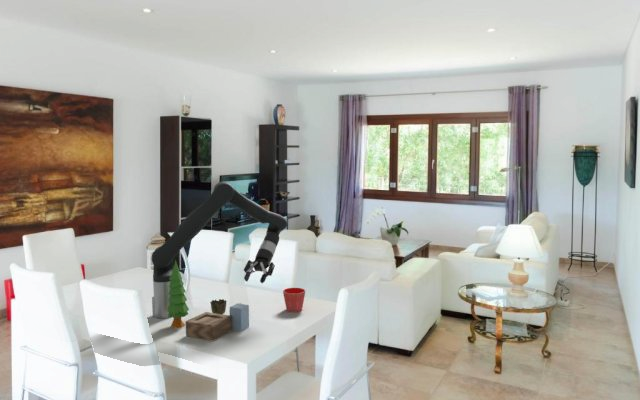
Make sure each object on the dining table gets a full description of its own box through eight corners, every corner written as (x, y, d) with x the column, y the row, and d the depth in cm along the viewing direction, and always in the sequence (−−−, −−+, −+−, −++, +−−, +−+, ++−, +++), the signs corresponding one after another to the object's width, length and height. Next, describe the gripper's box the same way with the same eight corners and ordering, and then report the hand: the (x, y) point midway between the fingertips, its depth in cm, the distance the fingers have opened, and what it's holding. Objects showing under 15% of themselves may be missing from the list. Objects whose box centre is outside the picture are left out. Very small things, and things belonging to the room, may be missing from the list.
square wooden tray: (186, 336, 222) (185, 321, 222) (206, 326, 235) (205, 312, 234) (213, 341, 217) (213, 325, 216) (232, 330, 229) (232, 315, 229)
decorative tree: (181, 321, 242) (179, 257, 239) (193, 325, 236) (192, 259, 233) (163, 326, 234) (160, 260, 232) (175, 331, 228) (173, 263, 226)
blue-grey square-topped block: (230, 329, 231) (229, 307, 230) (237, 325, 236) (237, 303, 235) (241, 331, 228) (241, 308, 227) (249, 326, 234) (248, 305, 233)
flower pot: (302, 313, 253) (302, 293, 252) (280, 312, 255) (280, 292, 254) (307, 307, 263) (307, 288, 262) (286, 305, 265) (286, 287, 265)
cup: (211, 320, 242) (210, 303, 242) (210, 316, 249) (209, 299, 249) (227, 319, 244) (227, 302, 244) (226, 314, 251) (225, 298, 251)
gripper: (250, 246, 251) (237, 275, 241) (276, 248, 245) (263, 278, 235) (256, 255, 256) (244, 284, 247) (281, 257, 250) (270, 287, 240)
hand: (253, 281), depth 241 cm, fingers open, 8 cm apart
